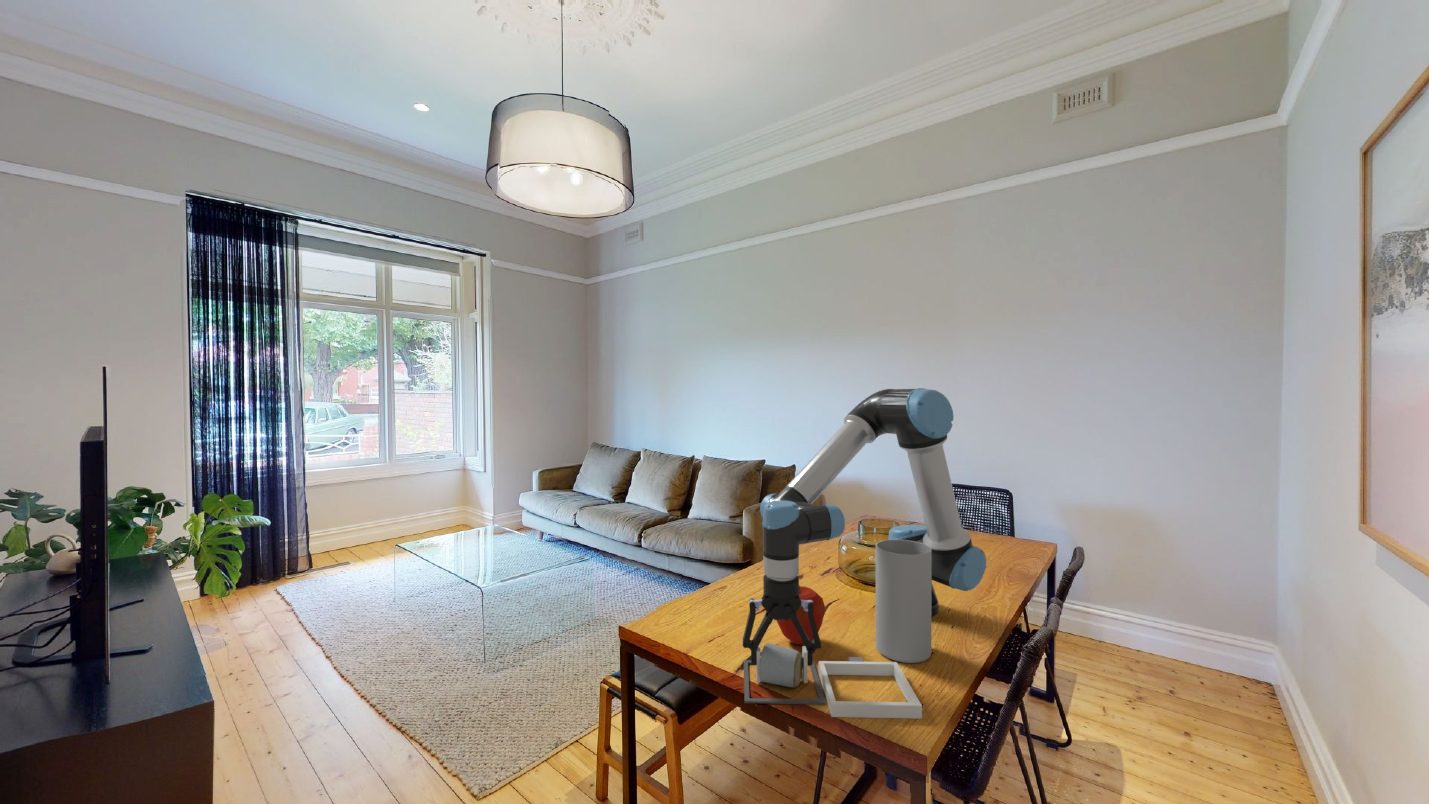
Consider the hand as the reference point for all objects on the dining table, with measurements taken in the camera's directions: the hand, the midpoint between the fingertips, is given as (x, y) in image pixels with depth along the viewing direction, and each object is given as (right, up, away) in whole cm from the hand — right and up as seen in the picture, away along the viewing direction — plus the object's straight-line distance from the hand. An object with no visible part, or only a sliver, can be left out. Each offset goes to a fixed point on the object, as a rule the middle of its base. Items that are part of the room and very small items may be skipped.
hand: (781, 679), depth 113 cm
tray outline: (0, -1, 0) cm, 1 cm away
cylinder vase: (+31, 0, +13) cm, 33 cm away
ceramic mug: (0, -1, +1) cm, 1 cm away
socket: (+17, -1, -4) cm, 17 cm away
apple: (+7, 0, +18) cm, 19 cm away
